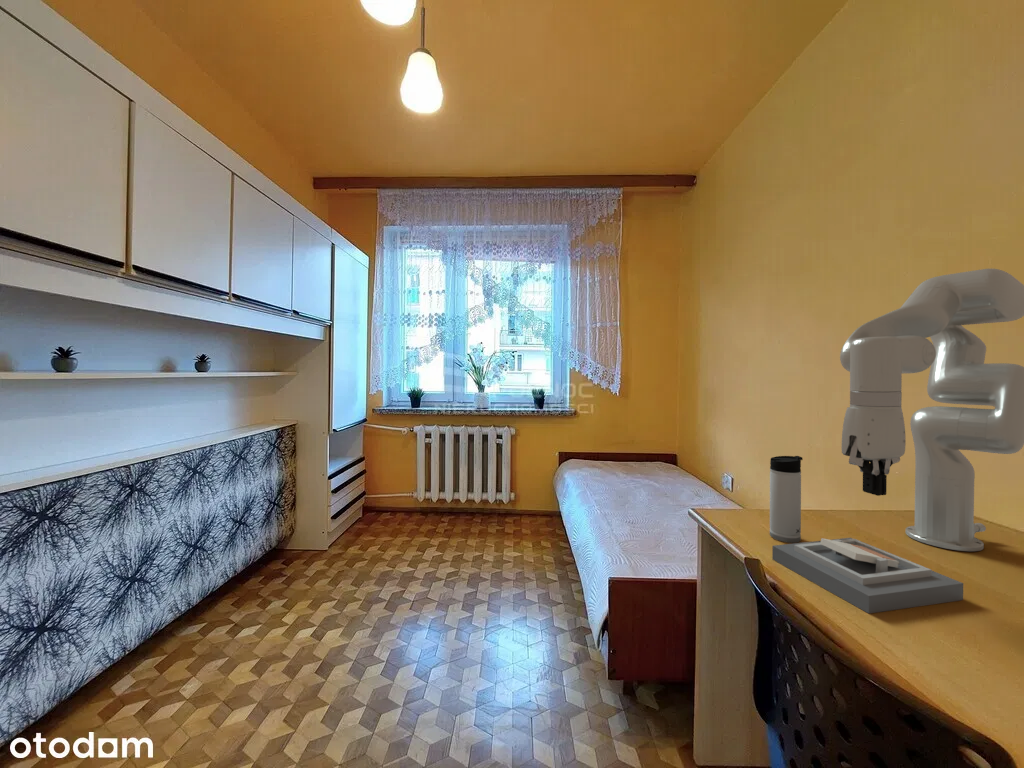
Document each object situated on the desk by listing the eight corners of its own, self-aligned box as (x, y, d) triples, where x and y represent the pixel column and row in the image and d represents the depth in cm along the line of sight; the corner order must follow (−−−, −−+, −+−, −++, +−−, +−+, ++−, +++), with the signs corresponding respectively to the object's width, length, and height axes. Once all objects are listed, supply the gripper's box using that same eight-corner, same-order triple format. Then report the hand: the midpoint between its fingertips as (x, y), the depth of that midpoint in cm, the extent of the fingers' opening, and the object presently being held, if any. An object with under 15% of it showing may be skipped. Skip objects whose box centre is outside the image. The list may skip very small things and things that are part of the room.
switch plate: (850, 550, 91) (850, 526, 91) (963, 599, 71) (963, 568, 71) (772, 559, 88) (772, 533, 87) (868, 613, 68) (868, 580, 68)
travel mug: (807, 544, 95) (808, 459, 94) (776, 542, 96) (776, 458, 96) (794, 533, 101) (795, 453, 100) (765, 531, 102) (765, 453, 102)
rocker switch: (859, 551, 84) (861, 545, 84) (897, 567, 77) (899, 561, 77) (820, 543, 82) (821, 537, 82) (854, 559, 75) (856, 552, 75)
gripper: (885, 397, 84) (885, 485, 85) (824, 400, 81) (824, 490, 82) (928, 400, 77) (927, 496, 77) (862, 403, 74) (862, 502, 75)
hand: (874, 493), depth 80 cm, fingers closed
